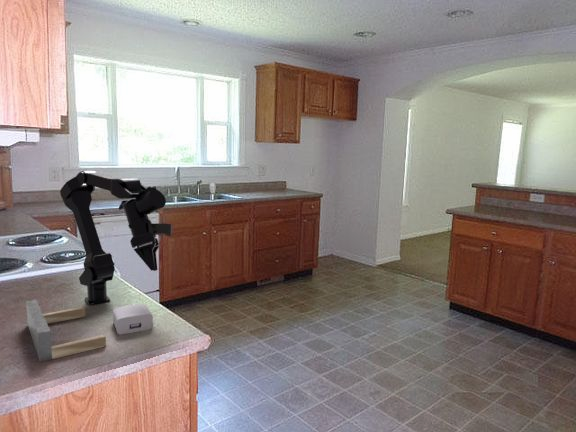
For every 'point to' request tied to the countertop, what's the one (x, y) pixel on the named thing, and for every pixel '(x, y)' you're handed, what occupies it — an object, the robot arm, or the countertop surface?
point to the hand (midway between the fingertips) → (154, 270)
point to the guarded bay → (43, 336)
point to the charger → (132, 318)
